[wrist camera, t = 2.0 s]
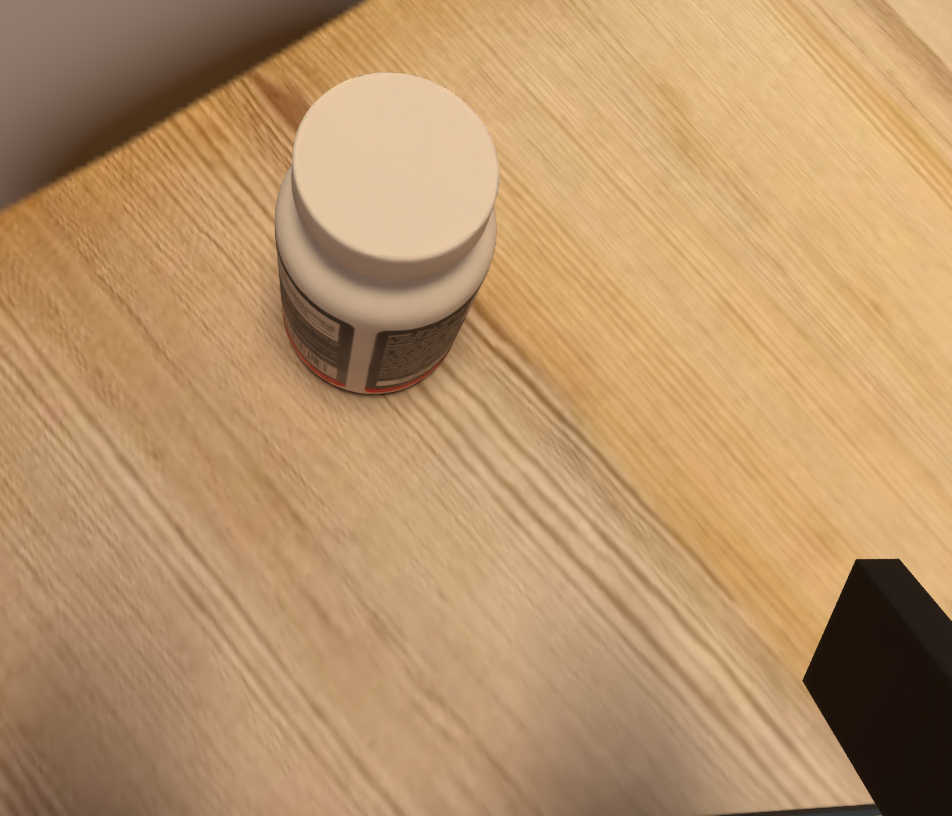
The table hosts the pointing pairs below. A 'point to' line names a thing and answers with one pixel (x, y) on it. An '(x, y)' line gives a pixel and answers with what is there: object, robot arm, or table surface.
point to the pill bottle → (384, 229)
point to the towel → (824, 812)
